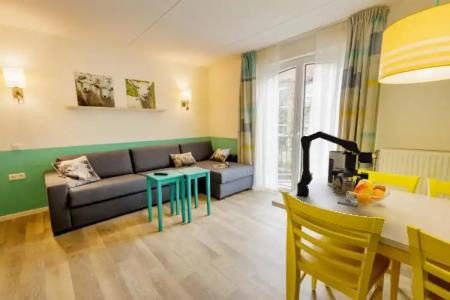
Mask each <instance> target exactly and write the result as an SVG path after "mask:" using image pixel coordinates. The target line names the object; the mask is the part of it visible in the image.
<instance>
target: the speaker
mask: <svg viewBox="0 0 450 300" xmlns="http://www.w3.org/2000/svg"><path fill="white" fill-rule="evenodd" d="M328 152H329V153H328V168H327V169H328V170H327V186H329V187H332V188H333V182H334V175H331V172H332V170H333V169H335V167H337V168H345V155H343V154H342V152H344V150H329V151H328Z"/></svg>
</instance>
